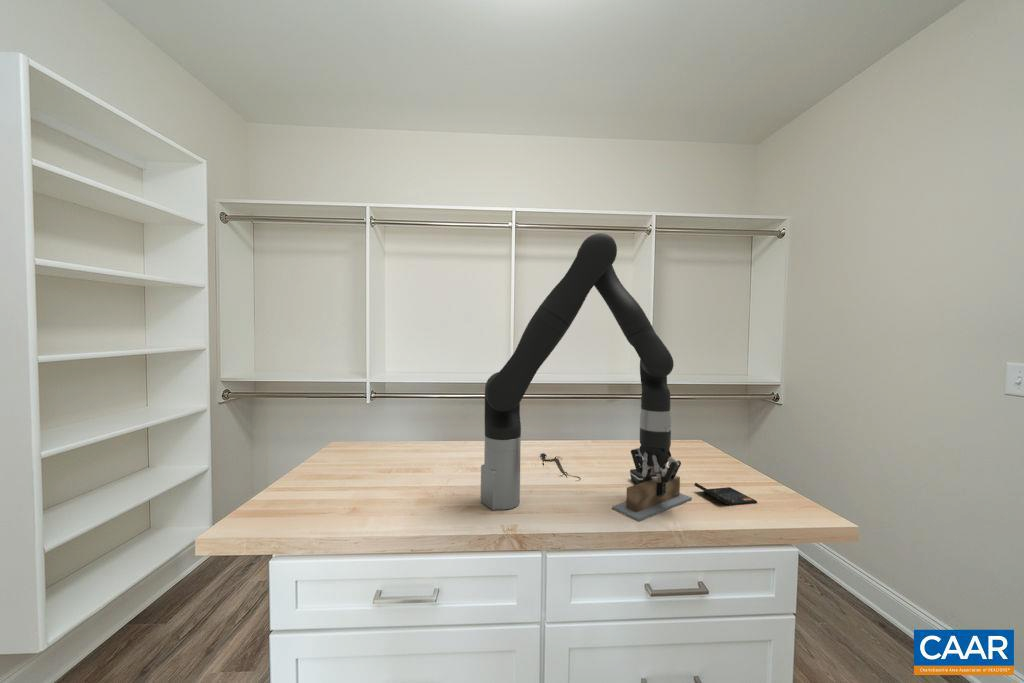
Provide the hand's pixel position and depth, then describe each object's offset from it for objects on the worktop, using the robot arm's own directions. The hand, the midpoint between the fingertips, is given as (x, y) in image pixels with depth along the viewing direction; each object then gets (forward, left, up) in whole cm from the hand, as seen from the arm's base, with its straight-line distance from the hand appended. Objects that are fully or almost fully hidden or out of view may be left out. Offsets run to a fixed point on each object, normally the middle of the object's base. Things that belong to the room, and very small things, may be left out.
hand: (654, 493), depth 101 cm
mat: (0, 0, -3) cm, 3 cm away
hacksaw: (-2, +34, -3) cm, 34 cm away
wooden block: (0, 0, -2) cm, 2 cm away
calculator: (+20, -8, -3) cm, 21 cm away
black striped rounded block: (+7, +12, -1) cm, 13 cm away
